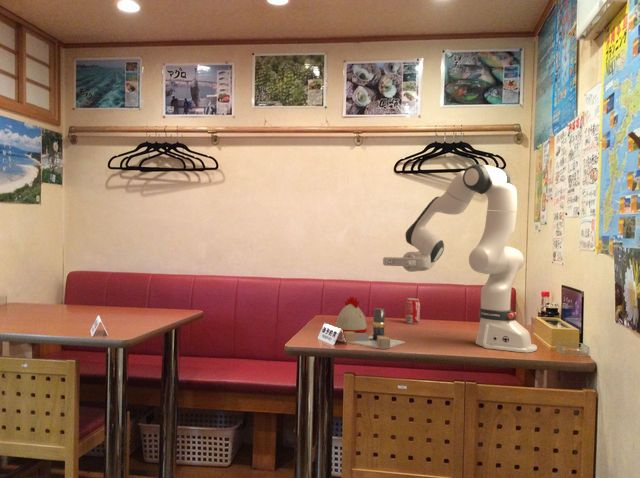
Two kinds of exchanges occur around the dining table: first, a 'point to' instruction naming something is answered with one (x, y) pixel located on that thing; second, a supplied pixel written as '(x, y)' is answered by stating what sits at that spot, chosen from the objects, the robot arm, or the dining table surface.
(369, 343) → the grey plate with blocks
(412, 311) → the soda can
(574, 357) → the dining table surface
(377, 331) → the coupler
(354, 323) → the kitchen timer
